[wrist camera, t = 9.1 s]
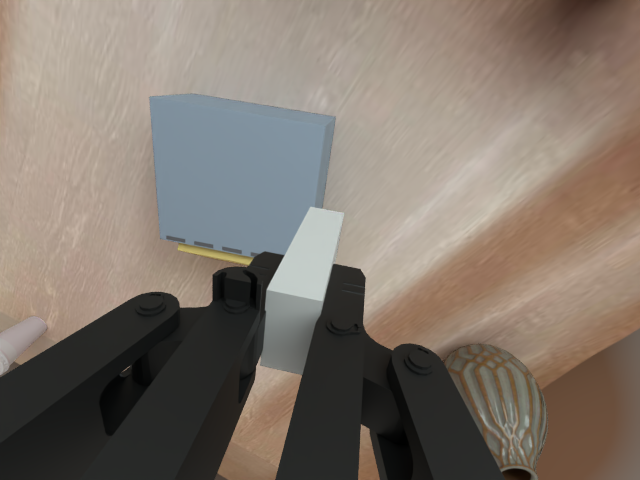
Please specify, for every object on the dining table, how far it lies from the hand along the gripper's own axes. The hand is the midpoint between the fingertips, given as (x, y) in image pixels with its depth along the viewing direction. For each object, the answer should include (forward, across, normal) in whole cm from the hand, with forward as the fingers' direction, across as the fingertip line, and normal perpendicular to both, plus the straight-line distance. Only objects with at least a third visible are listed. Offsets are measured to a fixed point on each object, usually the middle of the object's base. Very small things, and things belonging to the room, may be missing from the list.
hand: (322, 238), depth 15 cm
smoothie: (+30, -53, -43) cm, 74 cm away
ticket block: (+29, -12, -6) cm, 32 cm away
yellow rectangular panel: (+25, -12, -17) cm, 33 cm away
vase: (+30, +24, -30) cm, 49 cm away
